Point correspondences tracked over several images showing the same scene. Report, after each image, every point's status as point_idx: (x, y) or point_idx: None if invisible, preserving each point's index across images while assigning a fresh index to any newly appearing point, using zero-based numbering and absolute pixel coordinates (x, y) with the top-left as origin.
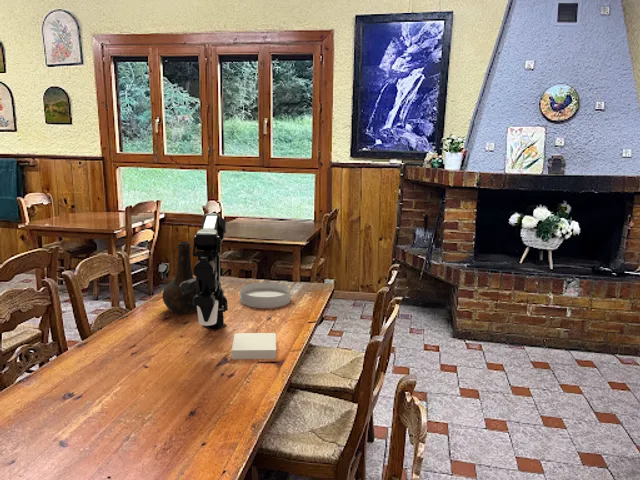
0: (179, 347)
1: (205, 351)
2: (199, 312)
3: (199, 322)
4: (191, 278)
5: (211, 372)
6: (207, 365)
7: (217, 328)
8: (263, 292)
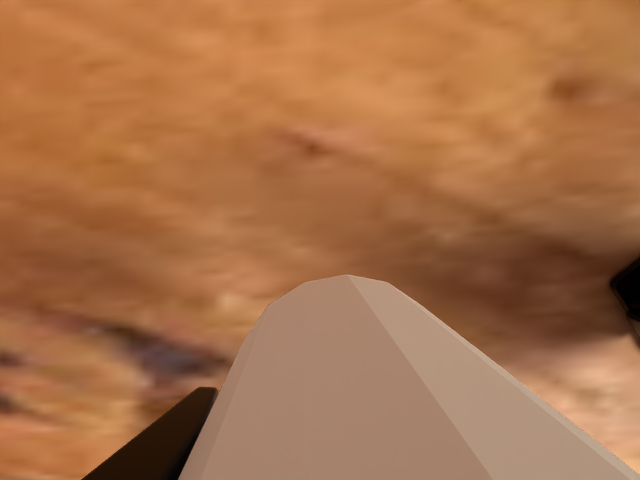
0: (393, 87)
1: (311, 254)
2: (240, 398)
3: (292, 295)
4: None
5: (23, 302)
6: (115, 275)
7: (624, 307)
8: None
